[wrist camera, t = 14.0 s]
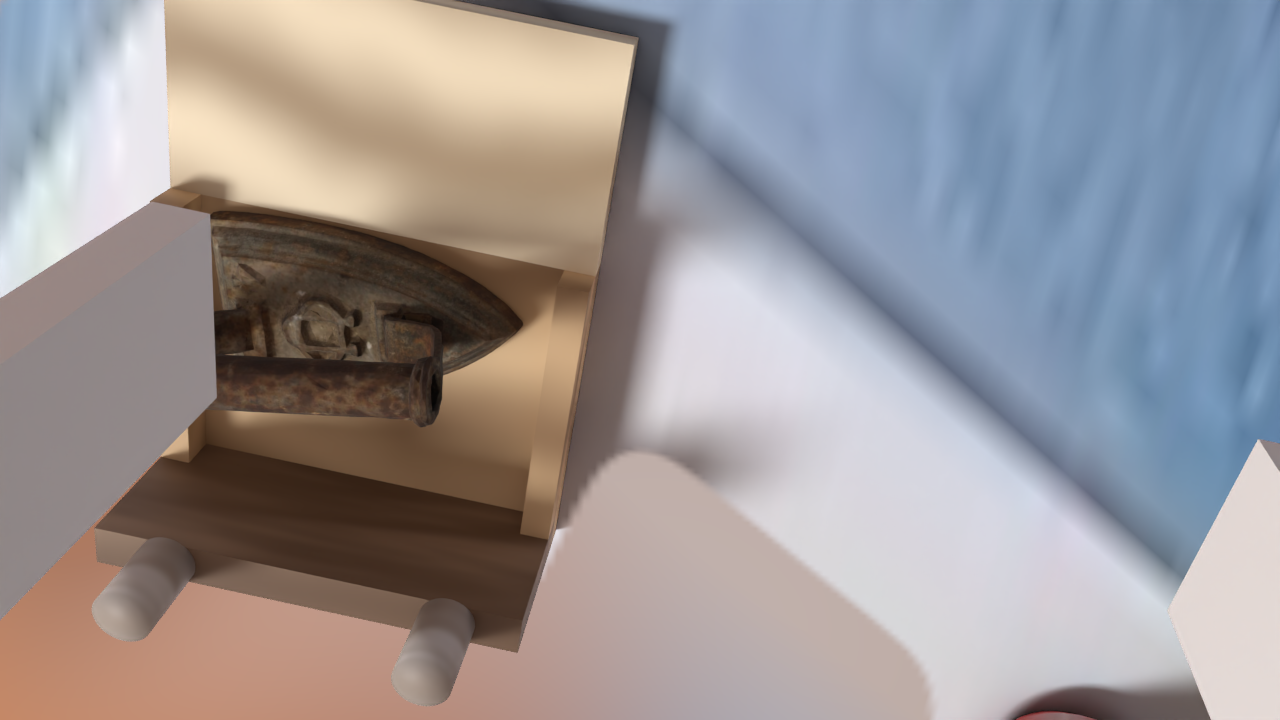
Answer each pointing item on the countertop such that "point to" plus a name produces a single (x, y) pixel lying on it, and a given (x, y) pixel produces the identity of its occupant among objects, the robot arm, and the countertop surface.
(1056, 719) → the liquor
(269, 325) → the clothes iron
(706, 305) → the countertop surface
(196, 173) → the cradle
